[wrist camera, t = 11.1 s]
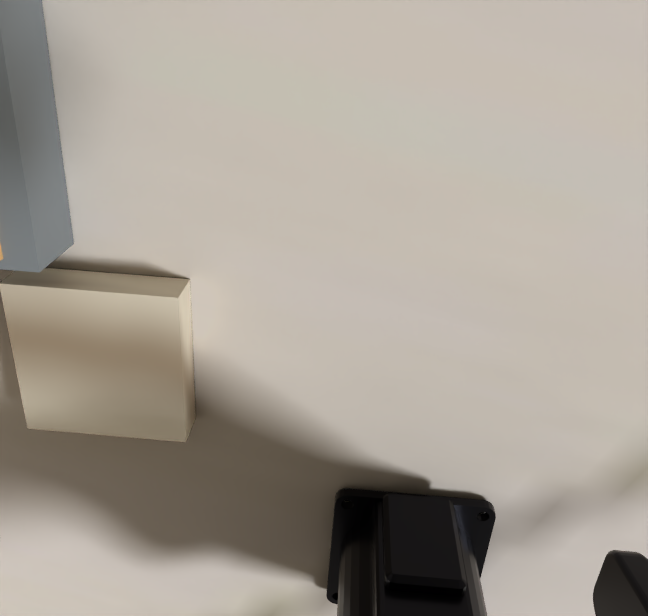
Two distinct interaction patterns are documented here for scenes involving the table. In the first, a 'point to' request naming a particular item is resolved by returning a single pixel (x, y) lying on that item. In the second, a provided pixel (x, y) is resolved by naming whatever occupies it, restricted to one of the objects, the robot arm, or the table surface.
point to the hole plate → (29, 145)
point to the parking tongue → (102, 352)
